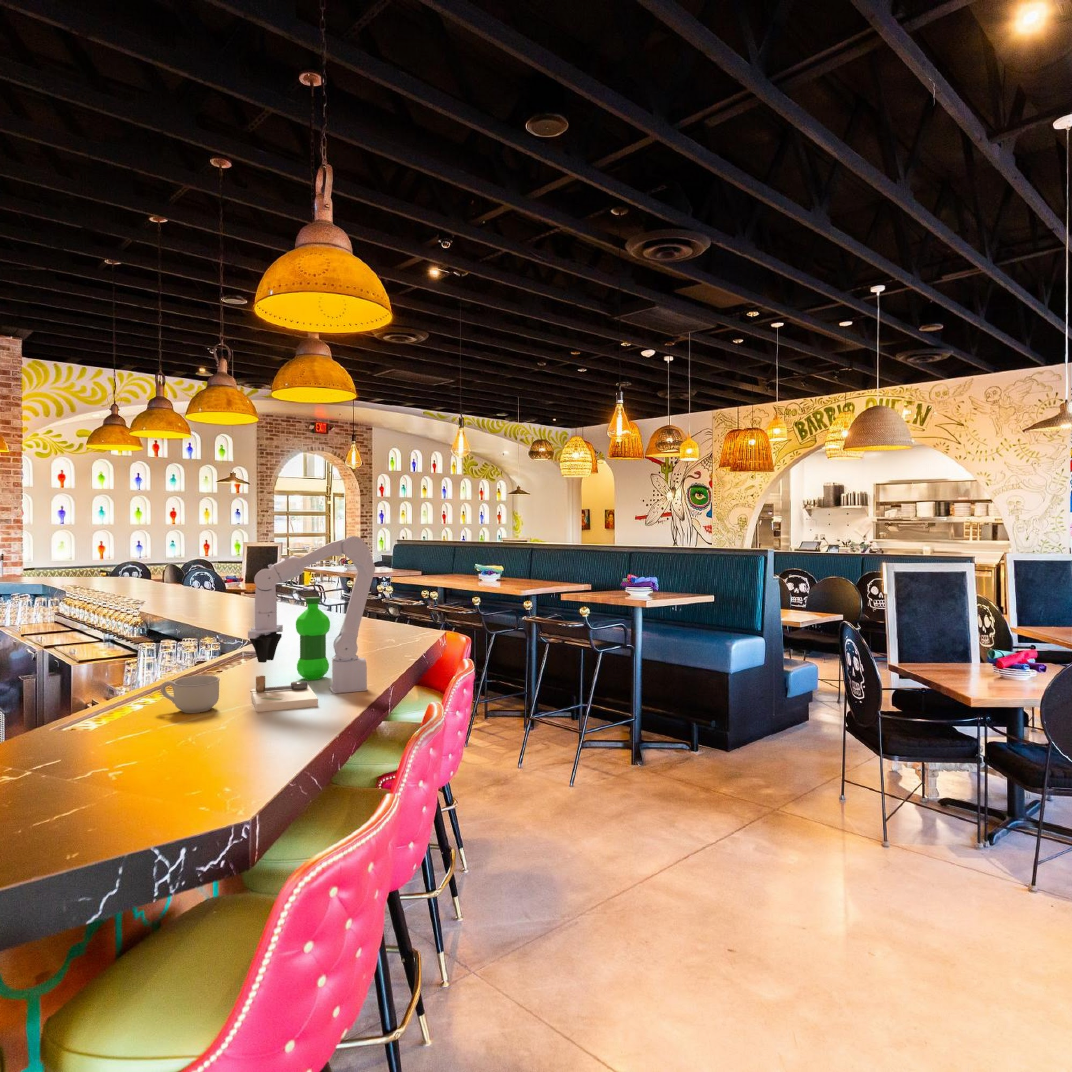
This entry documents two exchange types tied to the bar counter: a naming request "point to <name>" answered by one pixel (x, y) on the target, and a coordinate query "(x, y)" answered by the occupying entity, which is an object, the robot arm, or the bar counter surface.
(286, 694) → the board
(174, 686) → the teacup
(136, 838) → the bar counter surface
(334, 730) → the bar counter surface
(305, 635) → the plastic bottle
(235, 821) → the bar counter surface
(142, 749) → the bar counter surface
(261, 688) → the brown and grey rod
